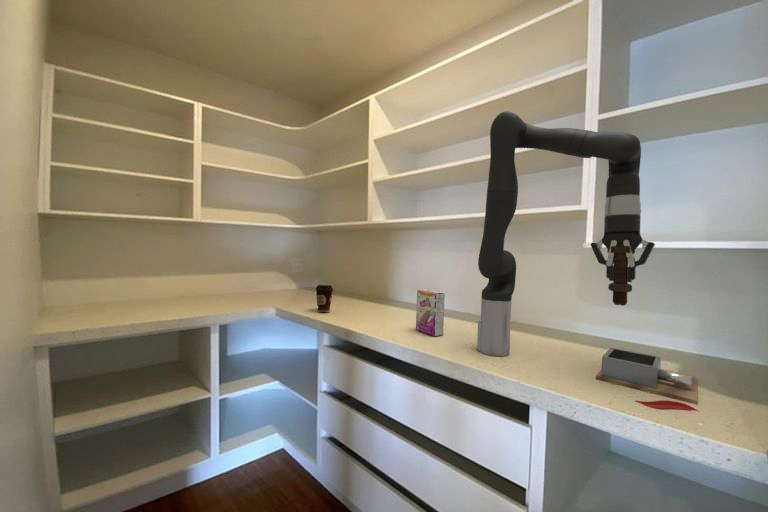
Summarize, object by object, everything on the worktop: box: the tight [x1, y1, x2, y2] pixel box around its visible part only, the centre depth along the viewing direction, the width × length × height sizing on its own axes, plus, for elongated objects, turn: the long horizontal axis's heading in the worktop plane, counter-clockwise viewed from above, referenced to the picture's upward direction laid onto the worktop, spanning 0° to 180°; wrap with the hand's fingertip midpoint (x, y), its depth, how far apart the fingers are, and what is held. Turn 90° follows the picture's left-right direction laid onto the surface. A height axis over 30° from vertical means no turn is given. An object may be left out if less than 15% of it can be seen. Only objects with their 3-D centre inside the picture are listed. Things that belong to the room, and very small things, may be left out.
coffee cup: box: [315, 284, 334, 313], centre depth 164 cm, size 9×8×13 cm
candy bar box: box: [415, 288, 446, 337], centre depth 127 cm, size 11×5×16 cm, turn 34°
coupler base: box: [595, 368, 698, 406], centre depth 85 cm, size 19×20×1 cm
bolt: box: [606, 247, 636, 307], centre depth 84 cm, size 6×5×15 cm
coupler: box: [601, 347, 693, 391], centre depth 85 cm, size 17×18×5 cm
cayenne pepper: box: [634, 399, 700, 413], centre depth 70 cm, size 12×5×2 cm, turn 59°
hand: (620, 280), depth 84 cm, fingers closed on bolt, 3 cm apart
